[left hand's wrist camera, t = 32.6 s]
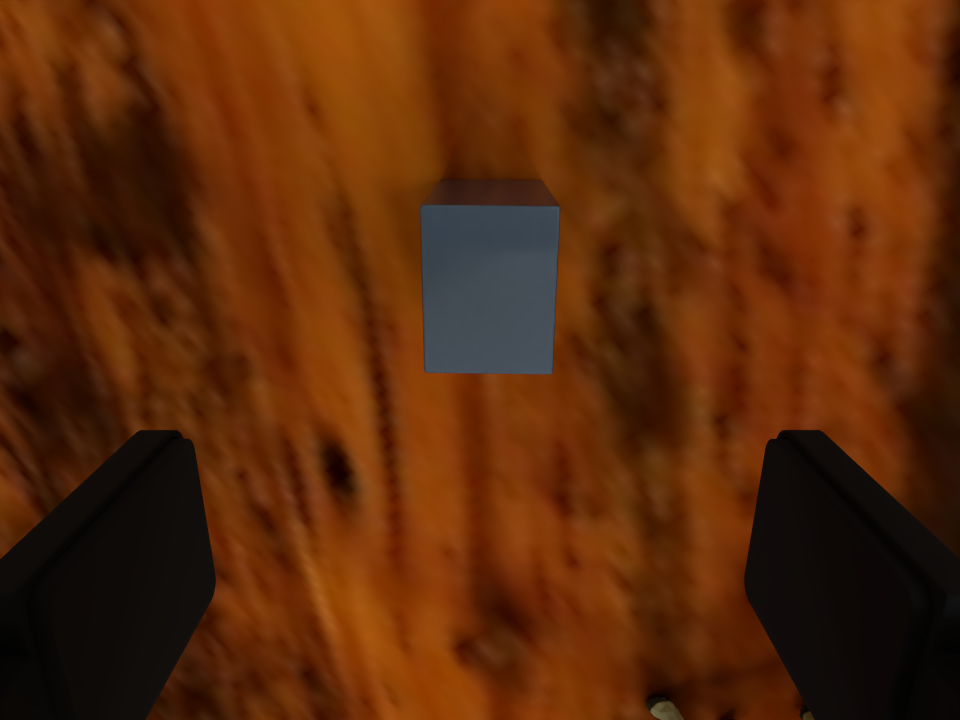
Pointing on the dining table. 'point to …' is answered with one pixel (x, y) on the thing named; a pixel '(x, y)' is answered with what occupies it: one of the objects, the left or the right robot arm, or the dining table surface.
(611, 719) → the dining table surface
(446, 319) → the brick
